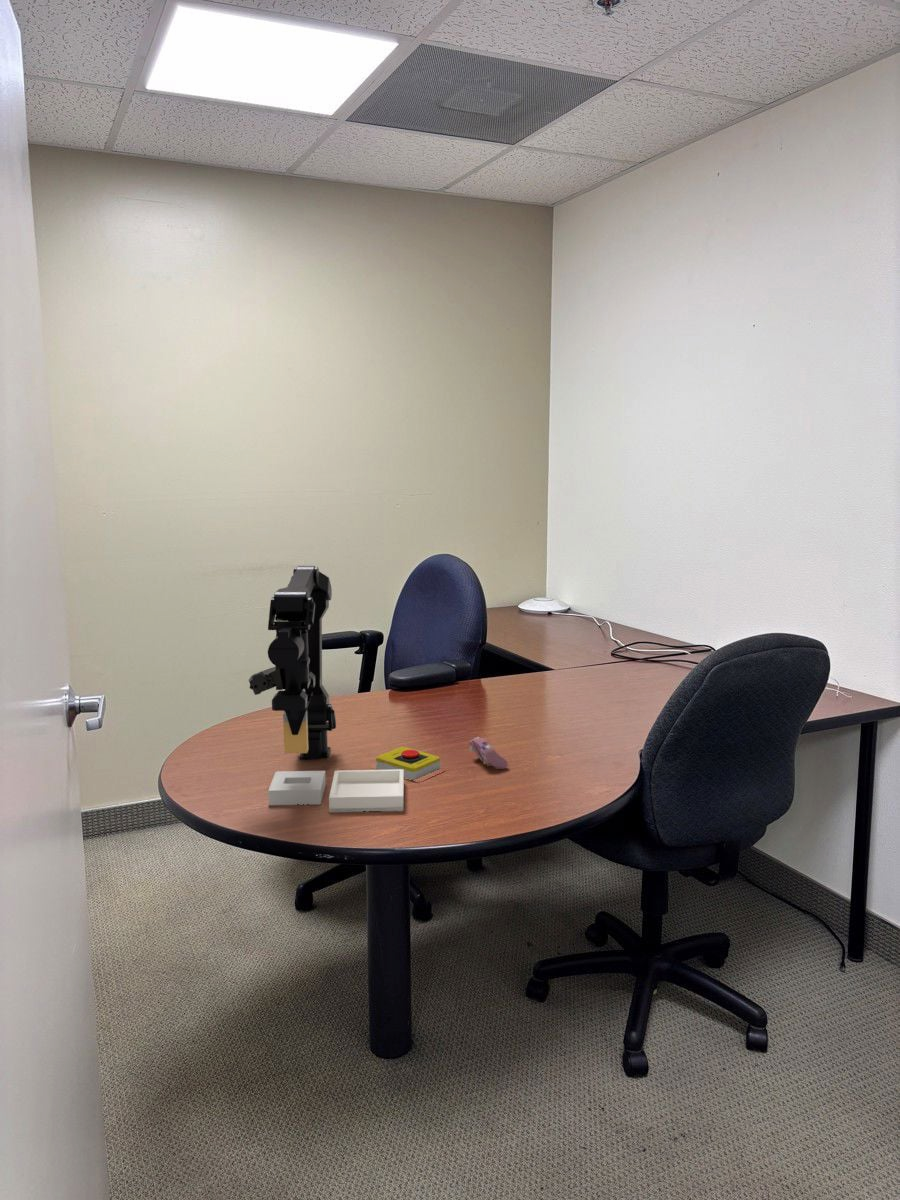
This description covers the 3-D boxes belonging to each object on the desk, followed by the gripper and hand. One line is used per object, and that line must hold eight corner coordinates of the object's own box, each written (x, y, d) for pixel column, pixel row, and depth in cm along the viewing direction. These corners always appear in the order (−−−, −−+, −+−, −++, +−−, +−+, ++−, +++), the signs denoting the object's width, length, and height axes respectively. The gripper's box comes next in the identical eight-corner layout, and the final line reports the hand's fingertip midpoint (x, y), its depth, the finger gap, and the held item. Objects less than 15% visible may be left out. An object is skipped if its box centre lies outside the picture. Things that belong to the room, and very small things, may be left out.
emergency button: (418, 765, 180) (366, 749, 190) (418, 785, 181) (366, 769, 190) (447, 753, 187) (395, 738, 197) (447, 772, 188) (396, 757, 198)
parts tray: (335, 784, 180) (335, 770, 180) (403, 783, 181) (403, 769, 180) (329, 812, 167) (329, 797, 166) (403, 811, 167) (403, 796, 167)
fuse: (286, 749, 175) (284, 710, 173) (308, 748, 175) (307, 710, 173) (284, 753, 172) (283, 714, 171) (307, 753, 172) (305, 713, 171)
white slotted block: (276, 785, 180) (275, 771, 179) (325, 784, 180) (325, 770, 180) (268, 805, 170) (268, 790, 169) (320, 804, 170) (320, 789, 170)
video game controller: (475, 763, 197) (462, 738, 195) (492, 752, 198) (479, 727, 196) (493, 778, 188) (479, 752, 185) (510, 767, 189) (497, 740, 187)
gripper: (259, 645, 179) (262, 718, 182) (242, 667, 161) (246, 749, 163) (314, 644, 179) (316, 717, 182) (303, 666, 161) (306, 748, 164)
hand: (295, 732), depth 173 cm, fingers closed on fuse, 2 cm apart
